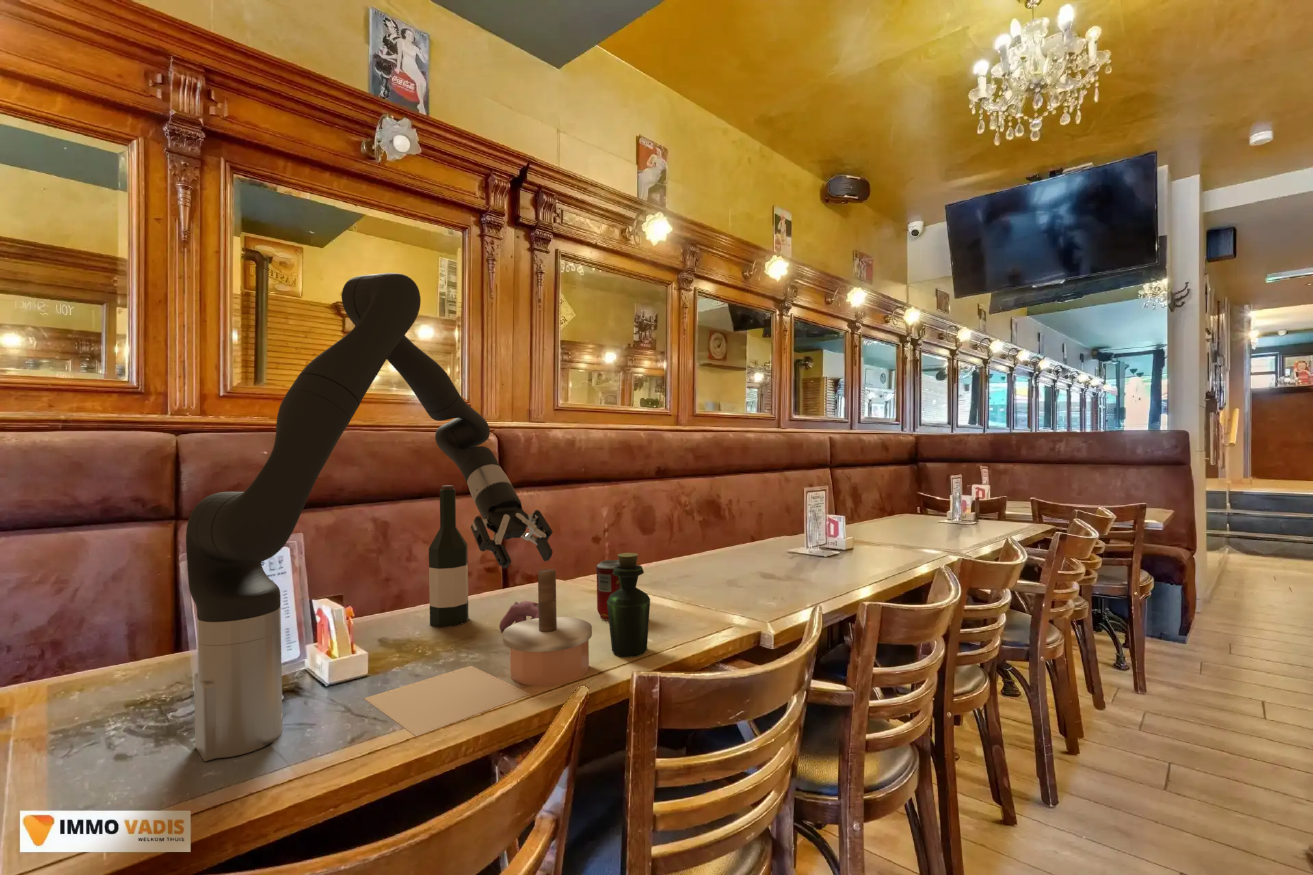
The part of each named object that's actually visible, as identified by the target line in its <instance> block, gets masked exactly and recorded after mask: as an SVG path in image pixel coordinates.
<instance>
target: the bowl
mask: <svg viewBox="0 0 1313 875" xmlns="http://www.w3.org/2000/svg"><path fill="white" fill-rule="evenodd" d="M589 640H590V639H589ZM589 640H588V641H586V642H585V643H583V644H581V645H578V646H575V647H572V648H568V649H563V650H557V651H547V652H528V651H520V650H515V649H511V648H509V647H508V648H509V675H510V680H512V681H516V682H517V683H520V684H522V685H528V686H540V687H545V686H551V685H561V684H566V683H569V682H571V681H575V680H576V679H580V678H581V677H583V676H584V675H585V674H586V673H587V672H588V670H590V650H589V648H590V646H589V645H590V644H589Z"/></svg>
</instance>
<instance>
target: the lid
mask: <svg viewBox="0 0 1313 875" xmlns="http://www.w3.org/2000/svg"><path fill="white" fill-rule="evenodd" d="M537 587H538V588H537V592H538V594H537V597H538V598H537V602H538V608H539V618H536V619H531V618H530V619H527V620H525V621H522V622H518V623H515V622H514V623H513V624H512V625H511V626H509V627H507V628H506V629H505V630H504V631H502V644H504V646H506V647H508V648H511V649H515V650H520V651H528V652H547V651H557V650H563V649H568V648H572V647H575V646H578V645H581V644H583V643H585V642H586V641H588V640H590V639H591V638H592V636H593V626H592V624H591V623H590V622H588V621H587V620H584V619H581V618H576V617H570V616H569V617H568V616H557V571H556V569H554V568H546V569H540V570H538V571H537Z"/></svg>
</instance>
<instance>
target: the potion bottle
mask: <svg viewBox="0 0 1313 875" xmlns="http://www.w3.org/2000/svg"><path fill="white" fill-rule="evenodd" d="M638 557H639V554H638V553H636V552H623V553H618V554H617V560H619V564H620V565H618V566H615V567H614V570H613V575H615V576H618V579H619V582H620V586H621V588H620V589H618V590H617V591H615V592H614V593H612V594H611V595H610V596H609V598H608V600H607V608H608V617H609V620H608V624H609V634H610V635H609V636H610V643H611V644H610V645H611V651H612V653H613V654H614V655H615V656H617V657H621V658H634V657H635V658H636V657H639V656H642V655H644V654H646V652H647V651H648V638H649V624H650V610H651V608H650V606H651V597H650V596H649V594H648V593H647V592H645V591H643V590H641V589H640V588H638V587H637V583H638V579H639V576H642V575H644V573H645V571H644V569H643V567H642V565H639V564H637V562H638Z"/></svg>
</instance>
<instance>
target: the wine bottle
mask: <svg viewBox="0 0 1313 875" xmlns="http://www.w3.org/2000/svg"><path fill="white" fill-rule="evenodd" d="M456 500H457V499H456V489H455V488H454V485H452V484H451V485H449V484H447V485H441V489H439V524H440V525H439V529H438V531H437V533H436V535H435V536H434V538H433V540H432V541H431V544H430V546H429V547H428V572H429V573H428V578H429V579H428V582H429V584H428V588H429V625H430V626H433V627H437V628H448V627H449V626H451V627H456V626H460V625H463V624H466V622H467V623H468V621H469V575H468V574H469V569H468V568H469V567H468V566H469V564H468V562H469V561H468V556H469V554H468V543H467V541H466V540H465V539H464V536H462V533H461V532H460V530H459V529H458V527H457V514H456V513H457V508H456V503H457V502H456ZM462 623H463V624H462Z"/></svg>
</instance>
